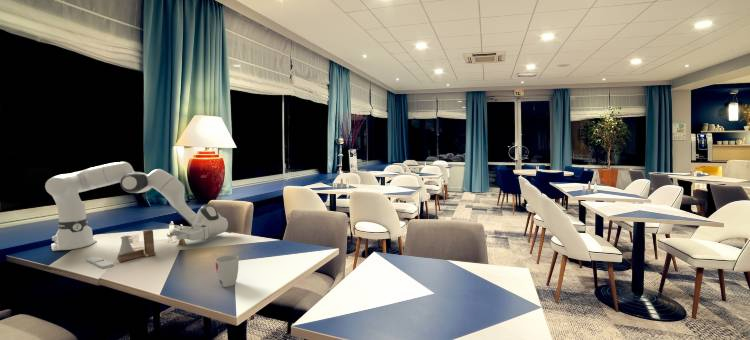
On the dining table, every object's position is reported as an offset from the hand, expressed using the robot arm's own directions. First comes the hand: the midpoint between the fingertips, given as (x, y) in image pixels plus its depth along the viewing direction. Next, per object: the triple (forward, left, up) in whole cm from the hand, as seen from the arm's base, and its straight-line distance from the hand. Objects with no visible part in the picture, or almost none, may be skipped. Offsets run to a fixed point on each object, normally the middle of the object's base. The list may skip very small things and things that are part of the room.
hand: (172, 236), depth 180 cm
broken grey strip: (-8, -28, -7) cm, 30 cm away
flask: (-7, -18, -7) cm, 21 cm away
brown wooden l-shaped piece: (-8, -16, -6) cm, 19 cm away
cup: (+65, -11, -7) cm, 66 cm away
